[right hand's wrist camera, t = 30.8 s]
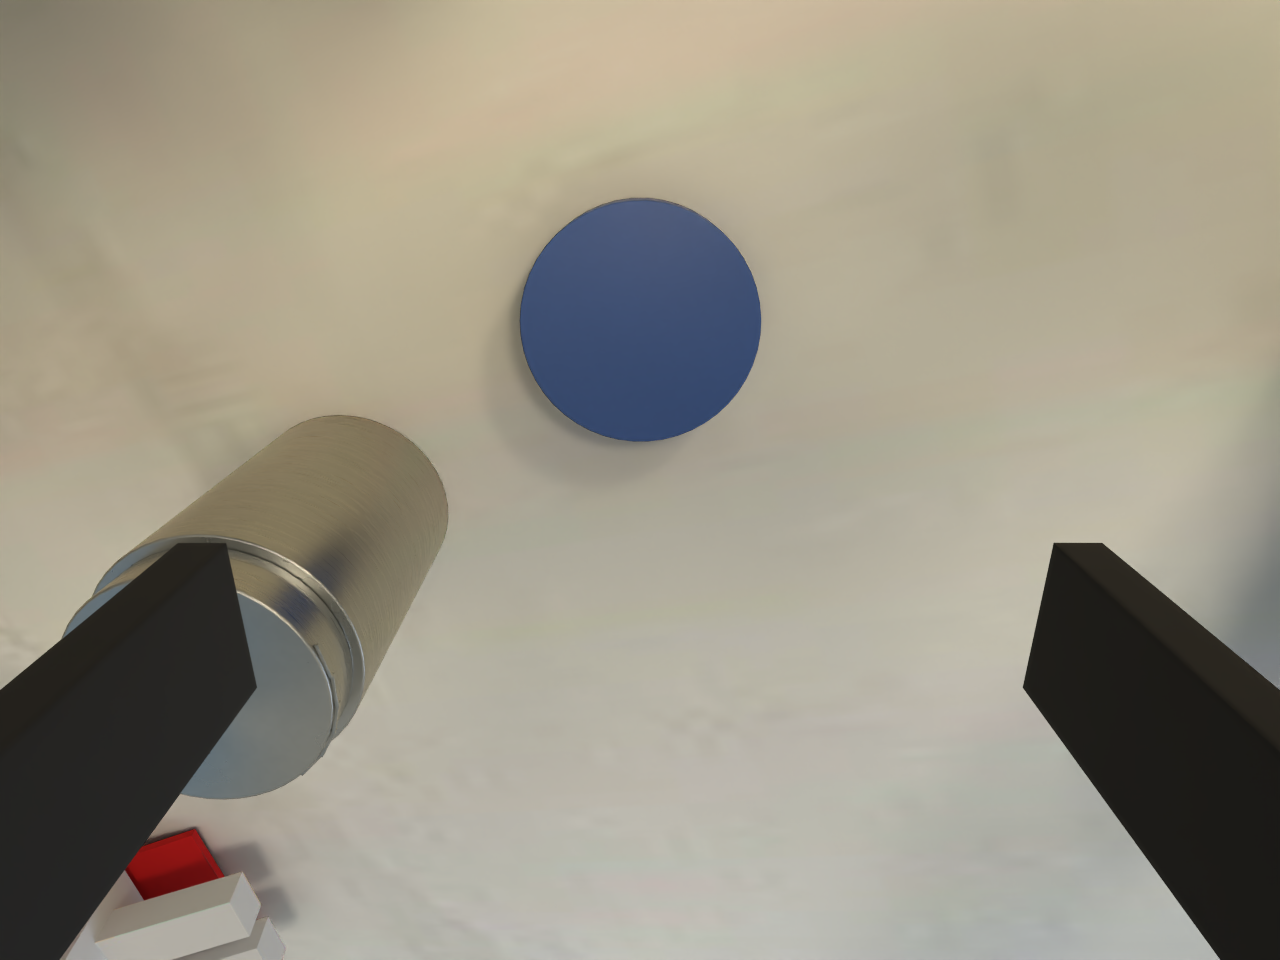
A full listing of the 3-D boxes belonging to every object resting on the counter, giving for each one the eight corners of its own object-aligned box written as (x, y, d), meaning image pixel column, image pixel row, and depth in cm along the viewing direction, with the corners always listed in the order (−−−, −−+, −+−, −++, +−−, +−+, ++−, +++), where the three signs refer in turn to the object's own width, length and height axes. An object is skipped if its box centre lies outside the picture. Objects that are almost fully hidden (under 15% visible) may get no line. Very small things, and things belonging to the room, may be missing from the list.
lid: (752, 189, 35) (759, 190, 33) (756, 418, 39) (763, 434, 37) (512, 206, 35) (504, 209, 33) (540, 433, 39) (534, 449, 37)
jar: (304, 608, 43) (136, 833, 29) (222, 443, 39) (-17, 606, 25) (475, 565, 42) (389, 775, 28) (406, 392, 38) (266, 530, 24)
